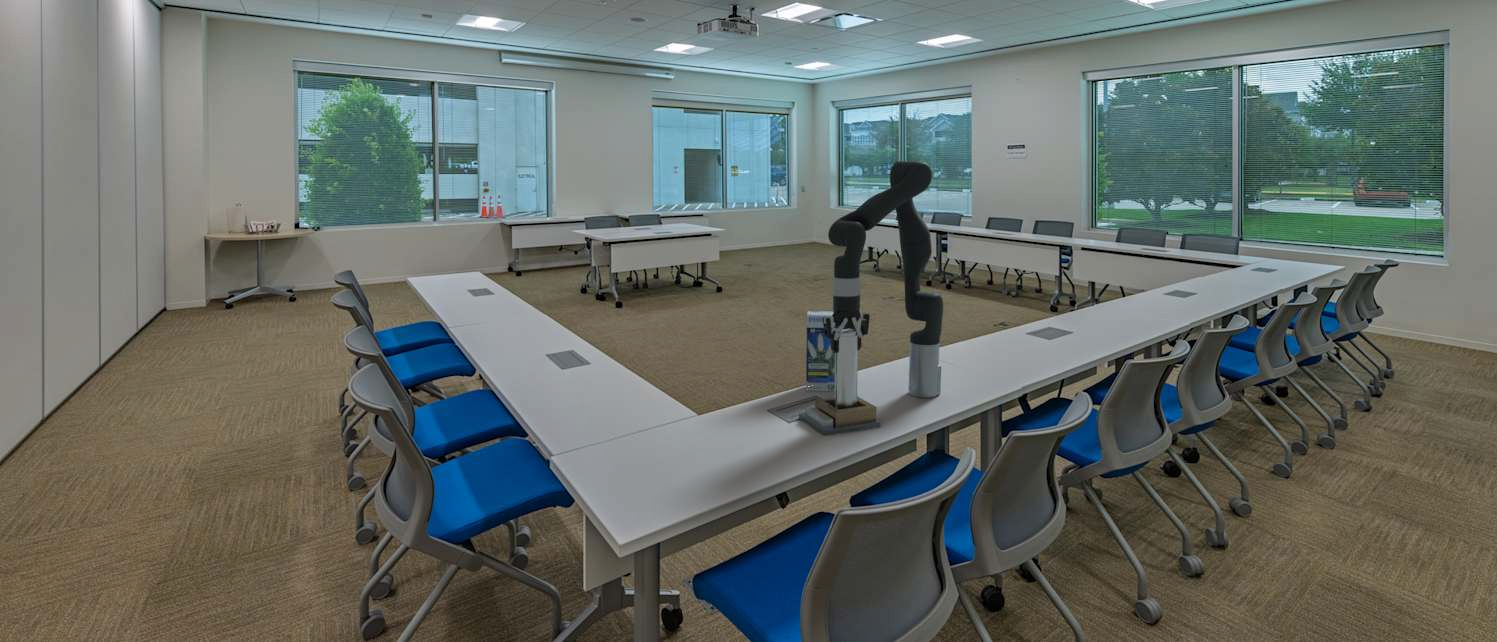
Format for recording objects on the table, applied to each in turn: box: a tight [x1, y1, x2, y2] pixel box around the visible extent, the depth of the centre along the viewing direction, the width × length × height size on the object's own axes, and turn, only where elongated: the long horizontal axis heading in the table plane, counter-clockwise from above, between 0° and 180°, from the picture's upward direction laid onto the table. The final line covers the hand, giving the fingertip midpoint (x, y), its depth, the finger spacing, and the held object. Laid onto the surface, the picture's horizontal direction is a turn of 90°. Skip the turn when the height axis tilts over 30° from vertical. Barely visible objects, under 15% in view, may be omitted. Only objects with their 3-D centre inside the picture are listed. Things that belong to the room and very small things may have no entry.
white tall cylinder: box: [834, 329, 859, 410], centre depth 210 cm, size 6×6×25 cm
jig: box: [798, 395, 882, 436], centre depth 211 cm, size 18×16×6 cm
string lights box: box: [805, 310, 845, 393], centre depth 243 cm, size 13×8×26 cm, turn 84°
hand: (846, 350), depth 208 cm, fingers closed on white tall cylinder, 6 cm apart
